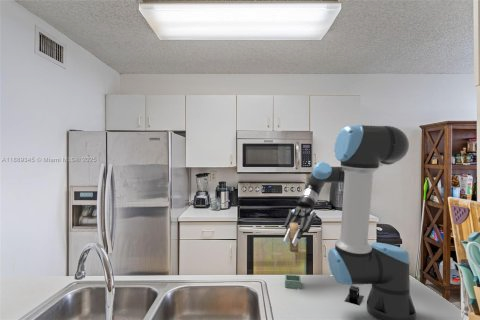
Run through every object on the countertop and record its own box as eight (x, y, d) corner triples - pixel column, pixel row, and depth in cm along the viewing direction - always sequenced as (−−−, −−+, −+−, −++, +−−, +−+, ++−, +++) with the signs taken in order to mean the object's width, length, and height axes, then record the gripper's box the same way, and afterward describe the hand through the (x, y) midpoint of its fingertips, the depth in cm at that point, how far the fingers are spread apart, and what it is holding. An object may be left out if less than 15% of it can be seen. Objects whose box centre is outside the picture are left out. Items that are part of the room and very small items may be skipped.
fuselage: (298, 252, 117) (298, 224, 117) (289, 251, 118) (289, 223, 118) (298, 250, 120) (298, 222, 121) (289, 249, 121) (289, 222, 121)
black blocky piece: (361, 309, 99) (360, 296, 99) (340, 303, 103) (340, 291, 103) (367, 296, 109) (366, 284, 109) (347, 291, 113) (347, 280, 113)
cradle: (301, 288, 114) (301, 281, 114) (285, 287, 115) (285, 280, 115) (300, 282, 121) (300, 275, 121) (285, 281, 122) (285, 274, 122)
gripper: (326, 207, 126) (310, 252, 113) (294, 204, 137) (276, 244, 124) (321, 197, 122) (304, 242, 109) (289, 194, 133) (269, 235, 120)
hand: (289, 243), depth 116 cm, fingers closed on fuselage, 3 cm apart
